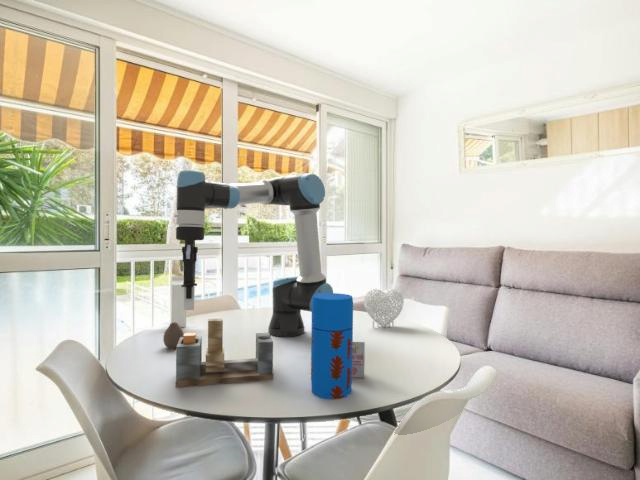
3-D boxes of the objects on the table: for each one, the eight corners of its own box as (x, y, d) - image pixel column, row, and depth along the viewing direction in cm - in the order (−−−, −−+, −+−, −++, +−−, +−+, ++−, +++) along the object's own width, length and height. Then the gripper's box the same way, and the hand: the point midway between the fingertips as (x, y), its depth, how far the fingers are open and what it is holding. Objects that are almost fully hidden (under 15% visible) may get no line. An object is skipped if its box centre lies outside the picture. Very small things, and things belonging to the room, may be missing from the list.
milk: (186, 327, 167) (186, 276, 167) (171, 328, 165) (171, 277, 165) (185, 324, 173) (185, 275, 173) (170, 325, 171) (171, 275, 170)
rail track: (268, 365, 120) (268, 330, 120) (273, 379, 108) (273, 340, 108) (180, 371, 113) (180, 334, 113) (175, 387, 102) (175, 345, 102)
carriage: (224, 363, 114) (224, 316, 114) (224, 372, 107) (224, 322, 107) (206, 365, 113) (207, 317, 113) (205, 373, 106) (205, 322, 106)
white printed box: (341, 373, 114) (341, 339, 114) (363, 374, 113) (364, 340, 113) (340, 377, 110) (341, 343, 110) (364, 378, 110) (364, 344, 110)
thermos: (309, 383, 106) (310, 293, 106) (348, 382, 107) (349, 293, 106) (312, 400, 95) (313, 299, 95) (354, 399, 96) (356, 299, 96)
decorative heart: (398, 323, 178) (399, 287, 178) (406, 329, 168) (407, 290, 167) (361, 324, 176) (361, 287, 176) (366, 330, 165) (367, 290, 165)
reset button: (195, 341, 110) (196, 332, 110) (195, 344, 107) (195, 335, 107) (184, 341, 109) (184, 333, 109) (183, 344, 106) (183, 336, 106)
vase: (177, 350, 133) (177, 325, 133) (159, 349, 135) (159, 324, 135) (187, 345, 140) (187, 321, 140) (170, 344, 142) (170, 320, 141)
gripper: (178, 226, 113) (177, 306, 113) (173, 225, 101) (171, 314, 101) (205, 227, 115) (204, 305, 115) (203, 225, 102) (201, 313, 102)
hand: (189, 309), depth 108 cm, fingers closed
